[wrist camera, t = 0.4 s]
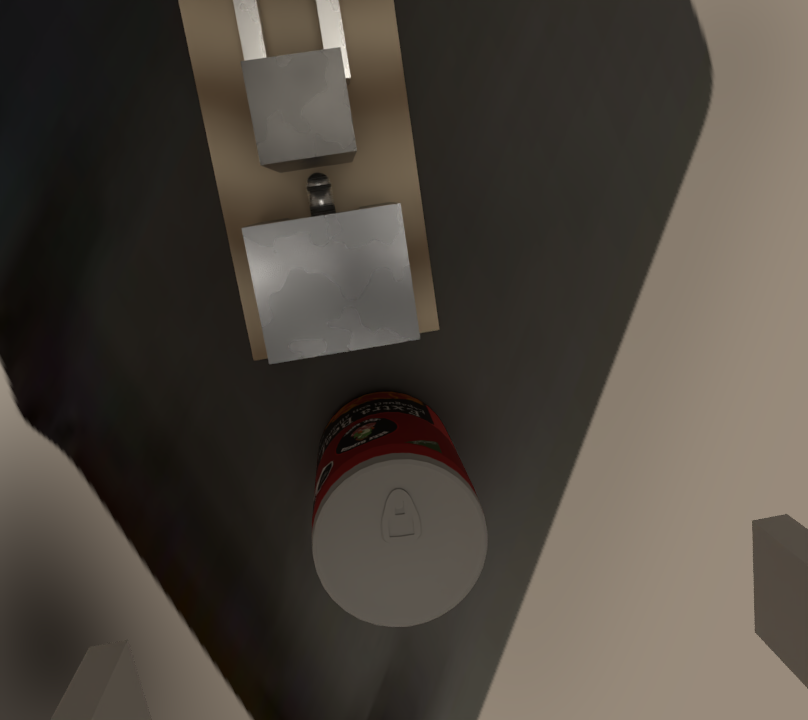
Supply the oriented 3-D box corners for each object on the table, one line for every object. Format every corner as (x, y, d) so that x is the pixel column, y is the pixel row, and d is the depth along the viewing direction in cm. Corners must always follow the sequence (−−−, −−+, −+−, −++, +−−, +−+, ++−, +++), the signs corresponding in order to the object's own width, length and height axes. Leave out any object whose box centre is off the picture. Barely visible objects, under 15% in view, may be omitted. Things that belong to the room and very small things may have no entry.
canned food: (422, 367, 39) (455, 431, 28) (467, 488, 41) (514, 591, 30) (296, 415, 39) (280, 498, 28) (347, 534, 41) (350, 654, 30)
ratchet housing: (257, 222, 35) (241, 227, 29) (390, 201, 35) (400, 203, 29) (280, 337, 36) (269, 364, 31) (407, 316, 37) (420, 338, 31)
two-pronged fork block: (229, -39, 32) (188, -128, 23) (328, -53, 32) (324, -145, 23) (303, 351, 36) (293, 400, 28) (390, 337, 37) (406, 381, 28)
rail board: (143, -192, 32) (134, -210, 30) (359, -217, 32) (360, -237, 31) (256, 354, 38) (253, 360, 36) (435, 324, 38) (439, 329, 37)
